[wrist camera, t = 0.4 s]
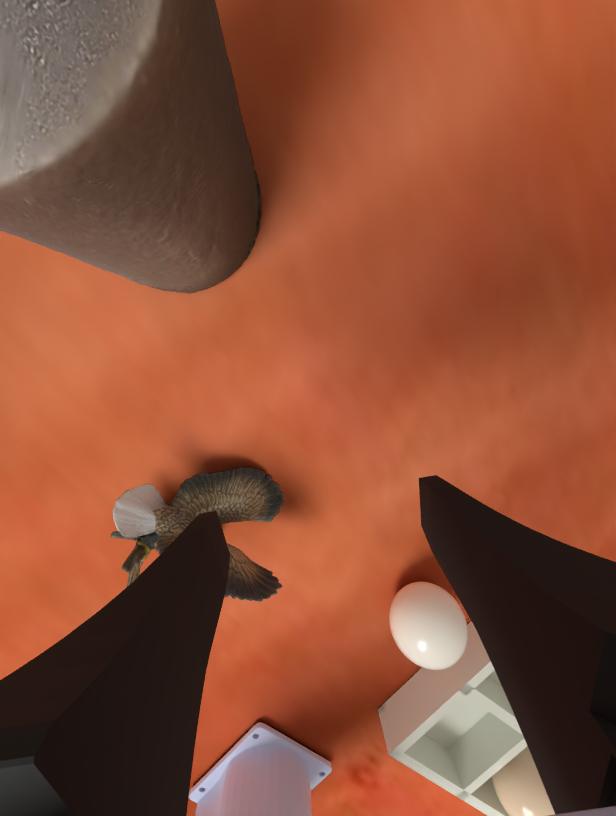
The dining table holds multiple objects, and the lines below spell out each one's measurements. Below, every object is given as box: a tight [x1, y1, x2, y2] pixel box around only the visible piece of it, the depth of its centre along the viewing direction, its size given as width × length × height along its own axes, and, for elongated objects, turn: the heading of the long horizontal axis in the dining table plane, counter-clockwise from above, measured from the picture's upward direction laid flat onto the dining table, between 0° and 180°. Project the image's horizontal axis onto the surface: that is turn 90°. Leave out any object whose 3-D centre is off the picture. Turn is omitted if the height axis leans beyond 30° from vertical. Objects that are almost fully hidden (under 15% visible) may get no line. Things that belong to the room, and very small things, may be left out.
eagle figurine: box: [111, 467, 284, 601], centre depth 20 cm, size 8×7×9 cm
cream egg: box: [389, 582, 468, 670], centre depth 22 cm, size 5×5×5 cm
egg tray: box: [378, 621, 527, 816], centre depth 26 cm, size 15×15×3 cm
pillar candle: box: [0, 0, 261, 293], centre depth 11 cm, size 10×10×15 cm
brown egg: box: [492, 746, 555, 816], centre depth 26 cm, size 5×5×5 cm
